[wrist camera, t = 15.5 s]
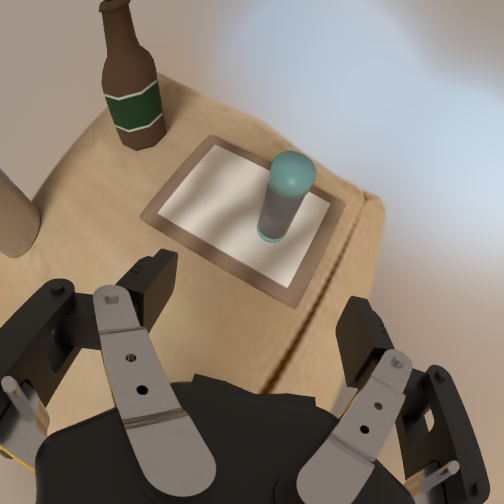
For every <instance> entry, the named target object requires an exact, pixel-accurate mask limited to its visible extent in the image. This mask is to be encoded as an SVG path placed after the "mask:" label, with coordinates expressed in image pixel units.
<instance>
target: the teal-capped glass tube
mask: <svg viewBox="0 0 504 504" xmlns="http://www.w3.org/2000/svg"><path fill="white" fill-rule="evenodd" d="M315 178H316V168H315V165H314V164H313V162H312V161H311V160H310V159H309V158H308V157H306V156H305V155H303V154H301V153H298V152H293V151H287V152H283V153H280V154H278V155H277V156H276V157H275V158H274V160H273V162H272V166H271V170H270V174H269V179H268V181H269V182H268V186H267V190H266V193H265V197H264V201H263V205H262V208H261V212H260V216H259V220H258V224H257V232H258V235H259V236H260V237H261V238H262V239H263V240H264V241H266V242H270V243H275V242H279V241H281V240H282V239H283V238H284V237H285V235H286V233H287V231H288V229H289V227H290V225H291V223H292V221H293V219H294V217H295V215H296V213H297V211H298V209H299V207H300V205H301V203H302V201H303V199H304V197H305V195H306V194H307V193H308V192H309V190H310V188H311V186H312V184H313V182H314V180H315Z"/></svg>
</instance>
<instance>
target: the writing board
mask: <svg viewBox="0 0 504 504" xmlns="http://www.w3.org/2000/svg"><path fill="white" fill-rule="evenodd" d="M271 166H272V164H271V163H269V162H267V161H265V160H263V159H261V158H259V157H257V156H255V155H253V154H251V153H249V152H246V151H244V150H242V149H240V148H238V147H236V146H234V145H231V144H229V143H227V142H225V141H223V140H220V139H218V138H216V137H213V136H211V135H209V136H208V137H207V138H206V139H205V140H204V141H203V142H202V143H201V144H200V145H199V146H198V147H197V148H196V150H195V151H194V152H193V153H192V154H191V155H190V156H189V157H188V158H187V159H186V161H185V162H184V163H183V164H182V165H181V166H180V167H179V168H178V170H177V171H176V172H175V173H174V174H173V175H172V176H171V178H170V179H169V180H168V181H167V182H166V184H165V185H164V186H163V187H162V188H161V190H160V191H159V192H158V193H157V194H156V196H155V197H154V198H153V199H152V201H151V202H150V203H149V204H148V206H147V207H146V208H145V209H144V211H143V212H142V213H141V214H140V216H139V217H140V218H141V220H143V221H144V222H146V223H147V224H149V225H151V226H152V227H154V228H155V229H157V230H159V231H160V232H162V233H164V234H165V235H167V236H169V237H170V238H172V239H174V240H175V241H177V242H178V243H180V244H182V245H183V246H185V247H187V248H188V249H190V250H192V251H193V252H195V253H197V254H199V255H200V256H202V257H204V258H205V259H207V260H209V261H210V262H212V263H214V264H215V265H217V266H219V267H221V268H222V269H224V270H226V271H227V272H229V273H231V274H233V275H234V276H236V277H238V278H240V279H241V280H243V281H245V282H246V283H248V284H250V285H252V286H253V287H255V288H257V289H259V290H261V291H262V292H264V293H266V294H268V295H269V296H271V297H273V298H275V299H276V300H278V301H280V302H282V303H284V304H285V305H287V306H289V307H291V308H293V309H296V308H297V306H298V304H299V302H300V300H301V298H302V296H303V294H304V292H305V290H306V288H307V286H308V284H309V282H310V280H311V278H312V276H313V274H314V272H315V270H316V268H317V266H318V264H319V262H320V260H321V258H322V256H323V254H324V251H325V249H326V247H327V245H328V243H329V241H330V239H331V236H332V234H333V232H334V230H335V228H336V225H337V223H338V221H339V219H340V217H341V214H342V212H343V210H344V207H345V205H346V204H345V203H343V202H341V201H340V200H338V199H336V198H334V197H333V196H331V195H329V194H327V193H326V192H324V191H322V190H320V189H318V188H317V187H315V186H313V185H312V186H311V188H310V190H309V192H308V193H307V194H306V195H305V197H304V199H303V201H302V203H301V205H300V207H299V209H298V211H297V213H296V215H295V217H294V219H293V221H292V223H291V225H290V227H289V229H288V231H287V233H286V235H285V237H284V238H283V239H282V240H281V241H279V242H275V243H270V242H266V241H264V240H263V239H262V238H261V237H260V236H259V235H258V232H257V224H258V220H259V216H260V212H261V208H262V205H263V201H264V197H265V193H266V190H267V186H268V182H269V181H268V179H269V174H270V170H271Z"/></svg>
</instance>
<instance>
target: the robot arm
mask: <svg viewBox="0 0 504 504" xmlns="http://www.w3.org/2000/svg"><path fill="white" fill-rule="evenodd" d="M39 226H40V214H39V210H38V209H37V207H36V206H35V205H34V204H33V203H32V202H31V201H30V200H29V199H28V198H27V197H26V196H25V195H24V194H23V192H22V191H21V190H20V189H19V188H18V187H17V186H16V185H15V184H14V183H13V182H12V181H11V180H10V179H9V177H8V176H7V175H6V174H5V173H4V172H3V171H2V170H1V169H0V252H1V253H3V254H4V255H6V256H8V257H10V258H16V257H19V256H21V255H22V254H24V253H25V252H26V251H27V250H28V249H29V248H30V246H31V245H32V244H33V242H34V240H35V238H36V236H37V233H38V230H39ZM177 261H178V253H177V252H174V251H170V250H166V249H160V250H159V251H158V253H157V254H156V255H155V256H154V257H150V256H147V257H144V258H142V259H140V260H138V261H137V262H136V263H135V265H134V266H133V267H132V268H131V269H130V270H129V271H128V272H127V273H126V274H125V275H124V276H123V277H122V278H121V279H120V280H119V281H118V282H117V283H116V284H115V285H105V286H102V287H100V288H98V289H97V290H96V291H95V292H94V294H93V295H92V294H82V293H75V288H74V285H73V283H72V282H71V281H69V280H67V279H60V278H59V279H53V280H50V281H48V282H46V283H45V284H44V285H43V286H42V287H41V288H40V289H38V290H37V291H36V292H35V293H34V294H33V295H32V296H31V297H30V298H29V299H28V300H27V301H26V302H25V303H24V304H23V305H22V306H21V307H20V308H19V309H18V310H17V311H16V312H15V313H14V314H13V315H12V316H11V317H10V318H9V319H8V321H7V322H6V323H5V324H4V325H3V326H2V327H1V328H0V454H1V455H2V456H3V457H5V458H9V459H15V460H17V461H18V462H20V463H21V464H23V465H24V466H26V467H27V468H29V469H30V470H32V471H33V472H35V475H36V486H37V493H36V494H37V495H36V504H483V503H484V502H485V501H486V500H487V499H488V497H489V494H490V484H489V480H488V476H487V472H486V468H485V465H484V461H483V458H482V455H481V452H480V449H479V445H478V443H477V439H476V437H475V434H474V431H473V428H472V426H471V423H470V420H469V418H468V415H467V412H466V410H465V407H464V405H463V403H462V400H461V398H460V396H459V394H458V391H457V389H456V386H455V384H454V382H453V380H452V377H451V376H450V374H449V373H448V372H447V371H446V370H445V369H444V368H443V367H441V366H438V365H431V366H430V367H429V368H428V370H427V371H426V372H422V371H419V370H416V369H413V365H412V362H411V360H410V359H409V357H408V356H406V355H405V354H404V353H402V352H401V351H398V350H395V348H394V346H393V344H392V342H391V339H390V337H389V335H388V333H387V331H386V328H385V327H384V324H383V322H382V320H381V318H380V317H379V316H378V315H377V314H376V312H374V311H373V310H372V308H371V306H370V304H369V302H368V300H367V299H365V298H360V297H356V296H351V297H350V298H349V300H348V302H347V304H346V306H345V308H344V310H343V312H342V315H341V317H340V319H339V321H338V323H337V326H336V338H337V342H338V347H339V351H340V355H341V360H342V365H343V369H344V374H345V379H346V384H347V387H354V388H358V391H357V392H356V394H355V395H354V397H353V398H352V399H351V401H350V402H349V403H348V405H347V406H346V407H345V409H344V410H343V411H342V413H341V414H340V415H339V416H338V418H337V417H335V416H334V415H332V414H331V413H329V412H328V411H326V410H324V409H322V408H319V407H317V406H316V402H315V397H309V396H302V395H295V394H288V393H284V394H254V393H251V392H249V391H246V390H244V389H242V388H239V387H237V386H235V385H232V384H230V383H228V382H226V381H222V380H218V379H214V378H210V377H206V376H202V375H198V374H194V377H193V380H192V382H173V383H169V381H168V379H167V377H166V375H165V373H164V370H163V368H162V366H161V364H160V361H159V359H158V357H157V354H156V352H155V349H154V347H153V345H152V342H151V340H150V337H149V335H148V334H149V332H150V330H151V329H152V327H153V325H154V324H155V322H156V320H157V318H158V317H159V315H160V313H161V312H162V310H163V308H164V307H165V305H166V303H167V302H168V300H169V298H170V297H171V295H172V292H173V289H174V285H175V278H176V269H177ZM82 348H87V349H95V350H101V355H102V359H103V364H104V368H105V372H106V376H107V380H108V384H109V388H110V391H111V395H112V399H113V402H114V406H115V407H114V408H112V409H110V410H107V411H105V412H103V413H100V414H98V415H96V416H93V417H91V418H89V419H86V420H84V421H81V422H79V423H77V424H74V425H72V426H69V427H66V428H64V429H61V430H59V431H56V432H54V433H53V434H51V435H50V436H48V437H47V430H48V426H49V422H50V420H49V414H48V412H47V410H46V406H47V404H48V403H49V401H50V399H51V397H52V396H53V394H54V392H55V390H56V389H57V387H58V385H59V384H60V382H61V380H62V379H63V377H64V375H65V374H66V372H67V371H68V369H69V367H70V366H71V364H72V363H73V361H74V359H75V358H76V356H77V355H78V353H79V352H80V350H81V349H82ZM430 409H431V411H432V414H433V417H434V425H433V428H432V429H431V431H430V432H429V431H428V428H427V424H426V420H425V417H424V415H425V414H426V413H427V412H428V411H429V410H430ZM394 422H395V424H396V428H397V434H398V439H399V444H400V449H401V455H402V460H403V466H404V473H405V480H406V482H405V484H404V486H403V485H402V484H401V483H400V482H399V481H398V480H397V479H396V478H395V477H394V476H393V475H392V474H391V473H390V472H389V471H388V470H387V469H386V468H385V467H384V466H383V465H382V464H381V463H380V462H379V461H378V460H377V459H376V457H377V455H378V454H379V452H380V450H381V448H382V446H383V444H384V442H385V441H386V439H387V437H388V435H389V433H390V430H391V429H392V427H393V425H394Z"/></svg>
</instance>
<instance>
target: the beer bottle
mask: <svg viewBox="0 0 504 504" xmlns="http://www.w3.org/2000/svg"><path fill="white" fill-rule="evenodd" d="M129 3H130V0H104V1H103V2H101V4H100V6H99V12H101V13H102V17H103V25H104V32H105V39H106V45H107V59H106V61H105V64H104V68H103V73H102V88H103V92H104V95H105V98H106V101H107V104H108V107H109V110H110V113H111V115H112V118H113V121H114V124H115V126H116V129H117V132H118V134H119V137H120V139H121V141H122V143H123V144H124V145H125V146H128V147H130V148H132V149H134V150H136V151H137V150H141V149H145V148H149V147H153V146H155V145H156V144H157V143H158V142H159V141H160V140H161V139H162V137H163V136H164V135H165V134H166V129H165V121H164V114H163V108H162V102H161V97H160V91H159V85H158V79H157V73H156V67H155V63H154V59H153V58H152V56H151V55H150V53H149V52H148V51H147V50H146V49H144V48H143V47H142V46H140V45H139V43H138V40H137V38H136V35H135V31H134V26H133V22H132V18H131V13H130V9H129V5H128V4H129Z"/></svg>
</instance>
